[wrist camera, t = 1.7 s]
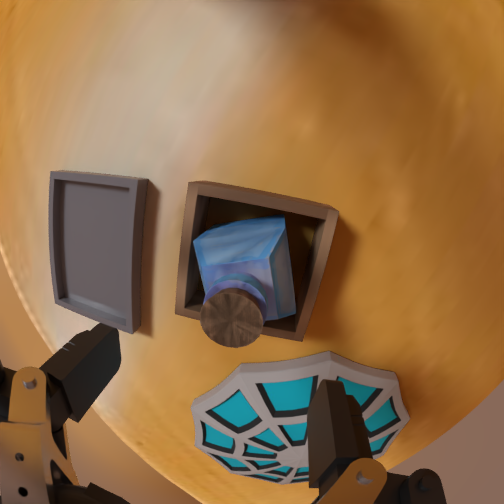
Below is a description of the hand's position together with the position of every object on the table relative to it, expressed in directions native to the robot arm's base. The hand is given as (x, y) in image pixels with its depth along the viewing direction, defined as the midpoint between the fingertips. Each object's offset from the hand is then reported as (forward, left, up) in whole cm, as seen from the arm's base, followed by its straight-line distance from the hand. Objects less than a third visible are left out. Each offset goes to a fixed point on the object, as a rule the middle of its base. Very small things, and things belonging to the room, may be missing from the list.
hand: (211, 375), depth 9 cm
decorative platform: (+24, +11, -17) cm, 31 cm away
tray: (+3, -17, -16) cm, 23 cm away
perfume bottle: (0, 0, -16) cm, 16 cm away
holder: (0, 0, -16) cm, 16 cm away
